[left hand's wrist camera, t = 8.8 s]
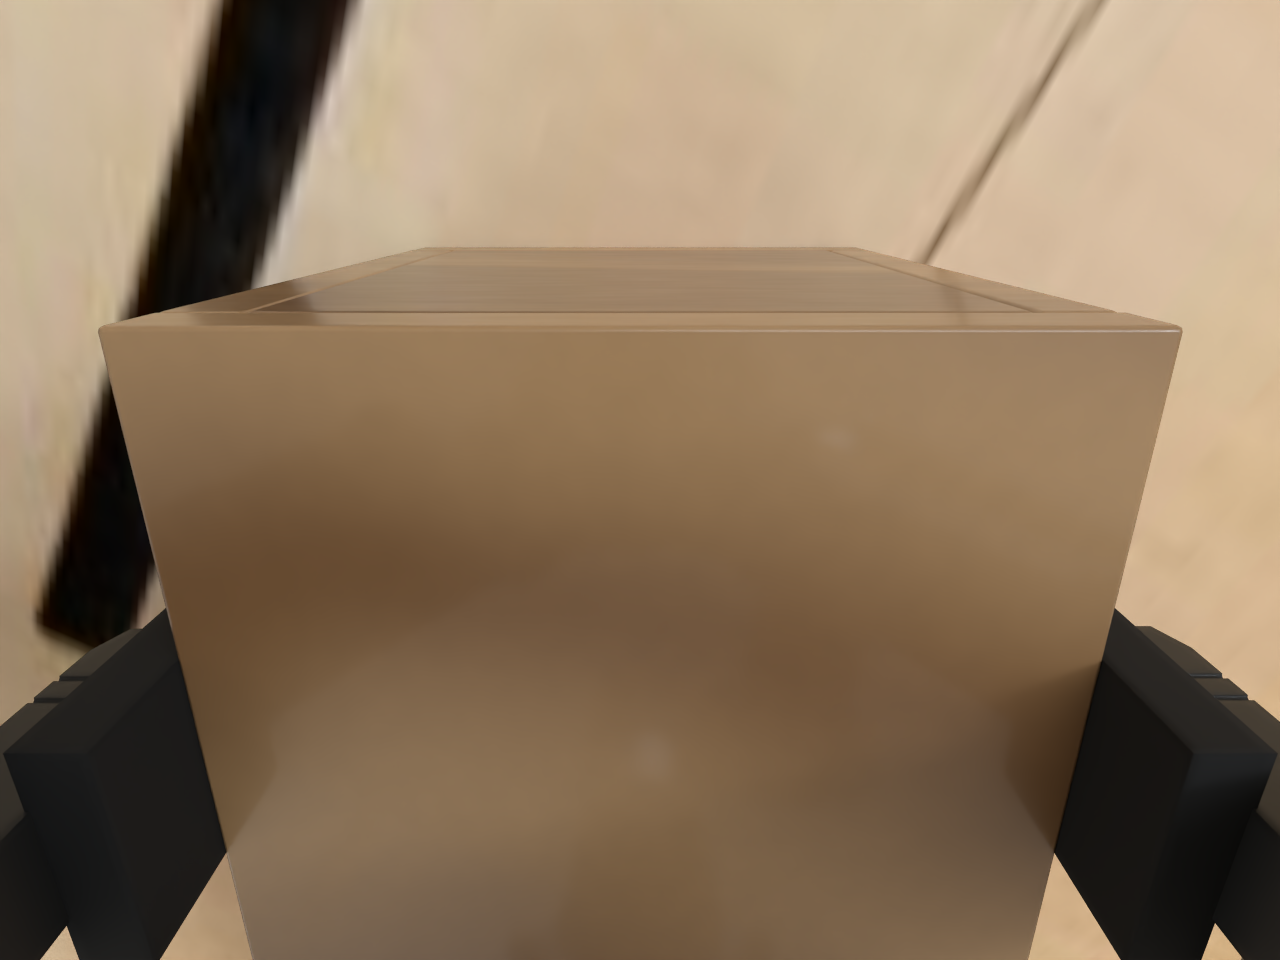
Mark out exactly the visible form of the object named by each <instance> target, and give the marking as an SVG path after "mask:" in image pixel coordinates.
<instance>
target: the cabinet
mask: <svg viewBox="0 0 1280 960" xmlns="http://www.w3.org/2000/svg"><path fill="white" fill-rule="evenodd" d="M98 333H99V337H100V341H101V345H102V349H103V354H104V358H105V362H106V366H107V370H108V374H109V378H110V382H111V386H112V390H113V394H114V398H115V402H116V406H117V410H118V414H119V418H120V422H121V427H122V431H123V435H124V439H125V443H126V447H127V451H128V455H129V459H130V463H131V467H132V471H133V475H134V479H135V483H136V487H137V491H138V496H139V500H140V504H141V508H142V512H143V516H144V520H145V524H146V528H147V532H148V536H149V540H150V544H151V548H152V552H153V556H154V560H155V565H156V569H157V573H158V577H159V581H160V585H161V589H162V593H163V597H164V601H165V605H166V609H167V613H168V617H169V621H170V625H171V629H172V634H173V638H174V642H175V646H176V650H177V654H178V658H179V662H180V666H181V670H182V674H183V678H184V682H185V686H186V690H187V694H188V698H189V702H190V707H191V711H192V715H193V719H194V723H195V727H196V731H197V735H198V739H199V743H200V747H201V751H202V755H203V759H204V763H205V767H206V771H207V776H208V780H209V784H210V788H211V792H212V796H213V800H214V804H215V808H216V812H217V816H218V820H219V824H220V828H221V832H222V836H223V840H224V845H225V849H226V853H227V857H228V861H229V865H230V869H231V873H232V877H233V881H234V885H235V889H236V893H237V897H238V901H239V905H240V909H241V913H242V918H243V922H244V926H245V930H246V934H247V938H248V942H249V946H250V950H251V954H252V958H253V960H1028V958H1029V953H1030V949H1031V945H1032V941H1033V937H1034V933H1035V929H1036V925H1037V921H1038V917H1039V913H1040V909H1041V905H1042V901H1043V897H1044V893H1045V888H1046V884H1047V880H1048V876H1049V872H1050V868H1051V864H1052V860H1053V856H1054V852H1055V848H1056V844H1057V840H1058V836H1059V832H1060V828H1061V823H1062V819H1063V815H1064V811H1065V807H1066V803H1067V799H1068V795H1069V791H1070V787H1071V783H1072V779H1073V775H1074V771H1075V767H1076V763H1077V758H1078V754H1079V750H1080V746H1081V742H1082V738H1083V734H1084V730H1085V726H1086V722H1087V718H1088V714H1089V710H1090V706H1091V702H1092V698H1093V693H1094V689H1095V685H1096V681H1097V677H1098V673H1099V669H1100V665H1101V661H1102V657H1103V653H1104V649H1105V645H1106V641H1107V637H1108V633H1109V628H1110V624H1111V620H1112V616H1113V612H1114V608H1115V604H1116V600H1117V596H1118V592H1119V588H1120V584H1121V580H1122V576H1123V572H1124V568H1125V563H1126V559H1127V555H1128V551H1129V547H1130V543H1131V539H1132V535H1133V531H1134V527H1135V523H1136V519H1137V515H1138V511H1139V507H1140V503H1141V498H1142V494H1143V490H1144V486H1145V482H1146V478H1147V474H1148V470H1149V466H1150V462H1151V458H1152V454H1153V450H1154V446H1155V442H1156V438H1157V433H1158V429H1159V425H1160V421H1161V417H1162V413H1163V409H1164V405H1165V401H1166V397H1167V393H1168V389H1169V385H1170V381H1171V377H1172V373H1173V368H1174V364H1175V360H1176V356H1177V352H1178V348H1179V344H1180V340H1181V336H1182V328H1181V327H1179V326H1177V325H1174V324H1169V323H1165V322H1161V321H1157V320H1153V319H1149V318H1145V317H1141V316H1137V315H1132V314H1128V313H1117V312H1115V311H1112V310H1108V309H1104V308H1100V307H1096V306H1092V305H1088V304H1084V303H1079V302H1075V301H1071V300H1067V299H1063V298H1059V297H1055V296H1051V295H1047V294H1043V293H1039V292H1035V291H1031V290H1026V289H1022V288H1018V287H1014V286H1010V285H1006V284H1002V283H998V282H994V281H990V280H986V279H982V278H977V277H973V276H969V275H965V274H961V273H957V272H953V271H949V270H945V269H941V268H937V267H933V266H929V265H924V264H920V263H916V262H912V261H908V260H904V259H900V258H896V257H892V256H888V255H884V254H880V253H875V252H871V251H867V250H863V249H859V248H422V249H418V250H412V251H408V252H404V253H400V254H396V255H392V256H388V257H384V258H380V259H375V260H371V261H367V262H363V263H359V264H355V265H351V266H347V267H343V268H339V269H334V270H330V271H326V272H322V273H318V274H314V275H310V276H306V277H302V278H298V279H293V280H289V281H285V282H281V283H277V284H273V285H269V286H265V287H261V288H257V289H253V290H248V291H244V292H240V293H236V294H232V295H228V296H224V297H220V298H216V299H212V300H207V301H203V302H199V303H195V304H191V305H187V306H183V307H179V308H175V309H171V310H166V311H163V312H161V313H153V314H149V315H145V316H141V317H137V318H133V319H129V320H125V321H121V322H116V323H112V324H108V325H104V326H102V327H100V328H99V331H98Z"/></svg>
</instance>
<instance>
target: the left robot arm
mask: <svg viewBox="0 0 1280 960" xmlns="http://www.w3.org/2000/svg"><path fill="white" fill-rule="evenodd" d="M1247 696H1248V695H1247V694H1246V693H1245V692H1244V691H1242V690H1241V689H1240V688H1239V687H1238V686H1236V685H1235V684H1234V683H1233V682H1232V681H1230V680H1229V679H1223V678H1222V673H1221V672H1220V671H1219V670H1217V669H1216V668H1215V667H1214V666H1213V665H1211V664H1210V663H1209V662H1208V661H1207V660H1205V659H1204V658H1203V657H1202V656H1201V655H1199V654H1198V653H1197V652H1196V651H1195V650H1193V649H1192V648H1191V647H1189V646H1187V645H1185V644H1183V643H1181V642H1179V641H1177V640H1176V639H1174V638H1172V637H1170V636H1168V635H1166V634H1164V633H1162V632H1160V631H1158V630H1157V629H1155V628H1153V627H1151V626H1134V625H1133V624H1132V623H1131V622H1130V621H1129V620H1128V619H1126V618H1125V617H1124V616H1123V615H1122V614H1121V613H1120V612H1119V611H1117V610H1116V609H1115V608H1114V612H1113V616H1112V620H1111V624H1110V628H1109V633H1108V637H1107V641H1106V645H1105V649H1104V653H1103V657H1102V661H1101V665H1100V669H1099V673H1098V677H1097V681H1096V685H1095V689H1094V693H1093V698H1092V702H1091V706H1090V710H1089V714H1088V718H1087V722H1086V726H1085V730H1084V734H1083V738H1082V742H1081V746H1080V750H1079V754H1078V758H1077V763H1076V767H1075V771H1074V775H1073V779H1072V783H1071V787H1070V791H1069V795H1068V799H1067V803H1066V807H1065V811H1064V815H1063V819H1062V823H1061V828H1060V832H1059V836H1058V840H1057V844H1056V848H1055V852H1054V853H1055V854H1056V856H1057V858H1058V859H1059V861H1060V863H1061V864H1062V866H1063V867H1064V869H1065V871H1066V872H1067V874H1068V875H1069V877H1070V879H1071V880H1072V882H1073V884H1074V885H1075V887H1076V888H1077V890H1078V892H1079V893H1080V895H1081V896H1082V898H1083V900H1084V901H1085V903H1086V904H1087V906H1088V908H1089V909H1090V911H1091V913H1092V914H1093V916H1094V917H1095V919H1096V921H1097V922H1098V924H1099V925H1100V927H1101V929H1102V930H1103V932H1104V933H1105V935H1106V937H1107V938H1108V940H1109V942H1110V943H1111V945H1112V946H1113V948H1114V950H1115V951H1116V953H1117V954H1118V956H1119V958H1120V959H1121V960H1201V959H1202V956H1203V954H1204V951H1205V948H1206V946H1207V943H1208V940H1209V938H1210V935H1211V932H1212V930H1213V927H1214V924H1215V923H1216V925H1217V926H1218V927H1219V928H1220V930H1221V931H1222V932H1223V933H1224V935H1225V936H1226V937H1227V939H1228V940H1229V941H1230V942H1231V944H1232V945H1233V946H1234V948H1235V949H1236V950H1237V951H1238V953H1239V954H1240V955H1241V957H1242V959H1241V960H1280V722H1279V721H1278V720H1277V719H1276V718H1275V717H1273V716H1272V715H1271V714H1270V713H1269V712H1267V711H1266V710H1265V709H1264V708H1263V707H1261V706H1260V705H1259V704H1258V703H1257V702H1255V701H1254V700H1248V697H1247ZM225 854H226V849H225V845H224V840H223V836H222V832H221V828H220V824H219V820H218V816H217V812H216V808H215V804H214V800H213V796H212V792H211V788H210V784H209V780H208V776H207V771H206V767H205V763H204V759H203V755H202V751H201V747H200V743H199V739H198V735H197V731H196V727H195V723H194V719H193V715H192V711H191V707H190V702H189V698H188V694H187V690H186V686H185V682H184V678H183V674H182V670H181V666H180V662H179V658H178V654H177V650H176V646H175V642H174V638H173V634H172V629H171V625H170V621H169V617H168V613H167V609H166V608H165V609H164V610H163V611H162V612H161V613H160V614H159V615H157V616H156V617H155V618H154V619H153V620H152V621H151V622H150V623H148V624H147V625H146V626H145V627H144V628H143V629H130V630H128V631H126V632H124V633H122V634H120V635H118V636H116V637H115V638H113V639H111V640H109V641H107V642H105V643H103V644H101V645H99V646H98V647H96V648H94V649H92V650H90V651H89V652H88V653H86V654H85V655H84V656H83V657H82V658H81V659H79V660H78V661H77V662H76V663H75V664H73V665H72V666H71V667H70V668H69V669H67V670H66V671H65V672H64V673H63V674H62V675H60V679H59V681H53V682H52V683H51V684H50V685H49V686H47V687H46V688H45V689H44V690H43V691H41V692H40V693H39V694H38V695H37V696H36V697H34V702H33V703H27V704H26V705H25V706H24V707H23V708H21V709H20V710H19V711H18V712H17V713H15V714H14V715H13V716H12V717H11V718H10V719H8V720H7V721H6V722H5V723H4V724H2V725H1V726H0V960H40V959H41V958H42V957H43V955H44V954H45V953H46V952H47V950H48V949H49V948H50V946H51V945H52V944H53V942H54V941H55V940H56V939H57V937H58V936H59V935H60V933H61V932H62V931H63V930H64V928H65V927H66V926H67V928H68V930H69V933H70V936H71V938H72V941H73V944H74V947H75V949H76V952H77V955H78V957H79V960H160V958H161V957H162V955H163V954H164V952H165V950H166V949H167V947H168V946H169V944H170V942H171V941H172V939H173V938H174V936H175V934H176V933H177V931H178V929H179V928H180V926H181V925H182V923H183V921H184V920H185V918H186V917H187V915H188V913H189V912H190V910H191V909H192V907H193V905H194V904H195V902H196V900H197V899H198V897H199V896H200V894H201V892H202V891H203V889H204V888H205V886H206V884H207V883H208V881H209V879H210V878H211V876H212V875H213V873H214V871H215V870H216V868H217V867H218V865H219V863H220V862H221V860H222V859H223V857H224V855H225Z"/></svg>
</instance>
